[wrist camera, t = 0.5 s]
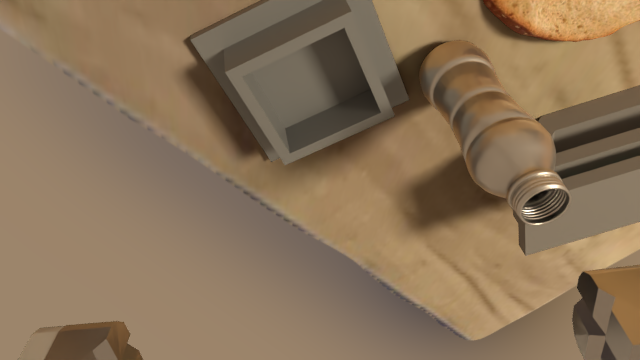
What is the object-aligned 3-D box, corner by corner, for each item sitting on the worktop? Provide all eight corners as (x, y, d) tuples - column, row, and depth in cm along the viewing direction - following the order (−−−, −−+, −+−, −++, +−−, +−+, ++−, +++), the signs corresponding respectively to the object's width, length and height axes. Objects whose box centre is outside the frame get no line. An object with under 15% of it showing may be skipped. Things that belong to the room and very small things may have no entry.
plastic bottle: (461, 98, 54) (558, 244, 40) (401, 85, 52) (480, 234, 37) (493, 41, 51) (613, 178, 36) (430, 24, 49) (530, 162, 34)
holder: (190, 35, 46) (189, 63, 42) (353, -46, 43) (366, -25, 40) (270, 157, 55) (275, 187, 52) (407, 95, 53) (421, 123, 50)
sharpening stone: (711, 62, 57) (796, 121, 49) (696, 121, 62) (770, 182, 54) (480, 134, 58) (524, 203, 50) (484, 185, 63) (525, 255, 55)
